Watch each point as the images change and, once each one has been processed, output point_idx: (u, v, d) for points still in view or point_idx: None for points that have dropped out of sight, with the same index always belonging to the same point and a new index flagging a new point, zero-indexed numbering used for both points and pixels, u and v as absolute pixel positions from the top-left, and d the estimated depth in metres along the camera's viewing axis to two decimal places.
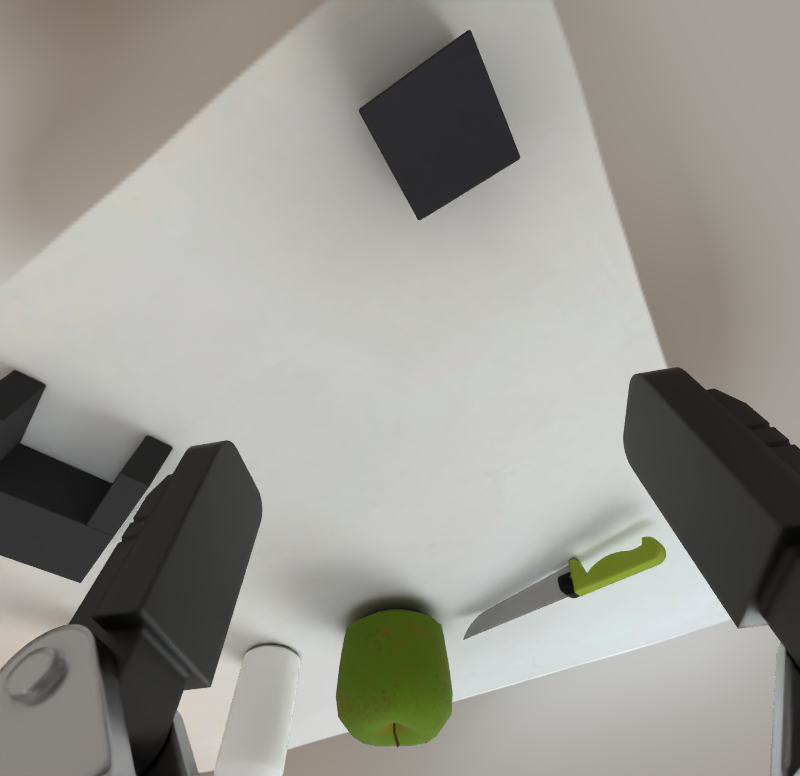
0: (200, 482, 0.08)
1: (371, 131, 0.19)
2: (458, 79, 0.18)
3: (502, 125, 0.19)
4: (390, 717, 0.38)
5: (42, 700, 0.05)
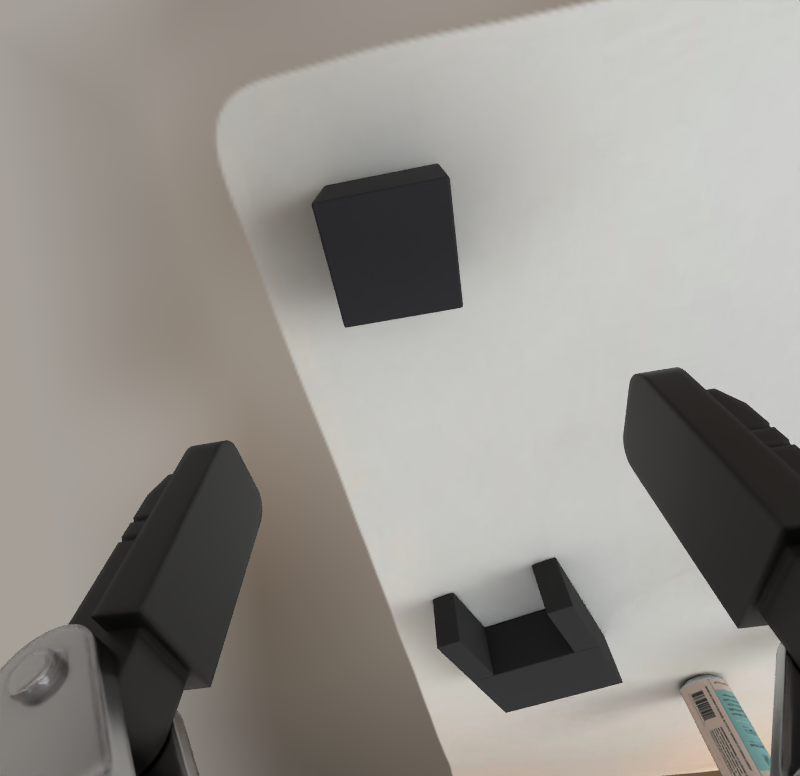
0: (200, 482, 0.08)
1: (365, 323, 0.19)
2: (349, 227, 0.17)
3: (407, 191, 0.16)
4: None
5: (42, 700, 0.05)
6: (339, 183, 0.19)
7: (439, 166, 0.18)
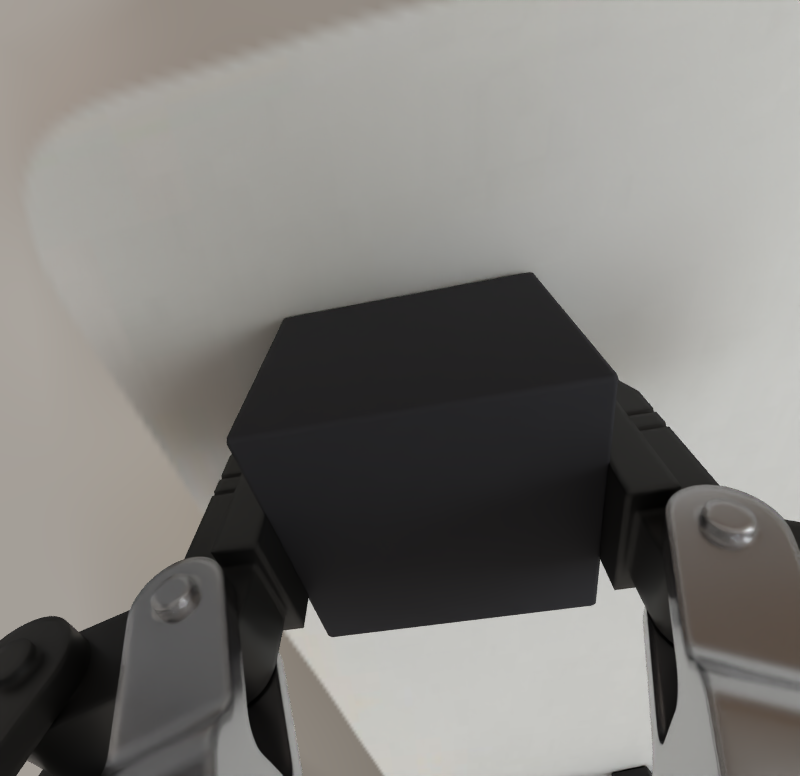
0: None
1: (374, 631, 0.09)
2: (332, 485, 0.06)
3: (494, 411, 0.06)
4: None
5: (187, 616, 0.05)
6: (315, 315, 0.09)
7: (544, 289, 0.08)
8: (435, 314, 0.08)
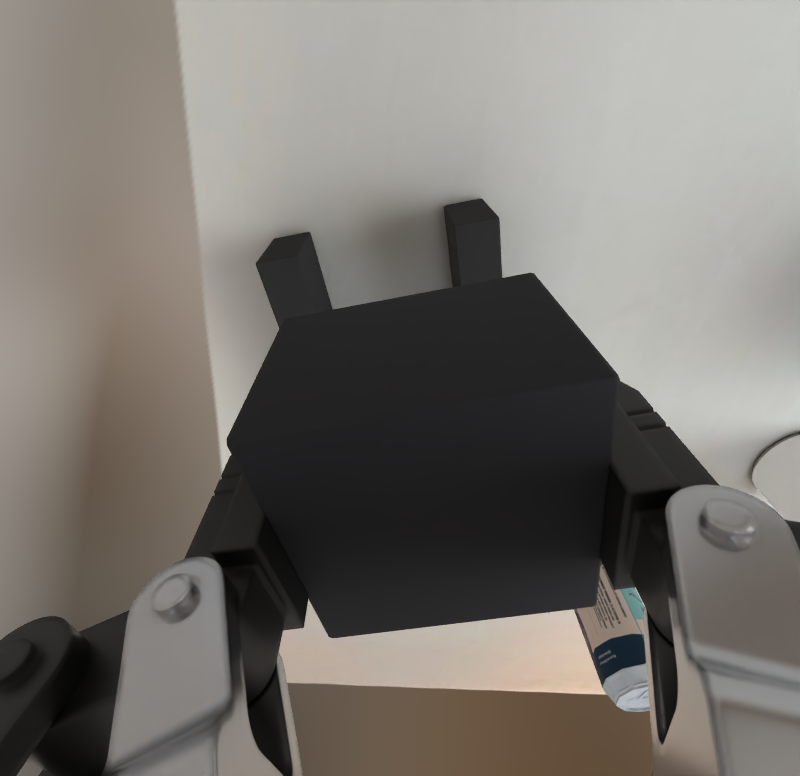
0: None
1: (374, 632, 0.09)
2: (331, 487, 0.06)
3: (495, 413, 0.06)
4: None
5: (188, 617, 0.05)
6: (315, 315, 0.09)
7: (545, 290, 0.08)
8: (436, 315, 0.08)
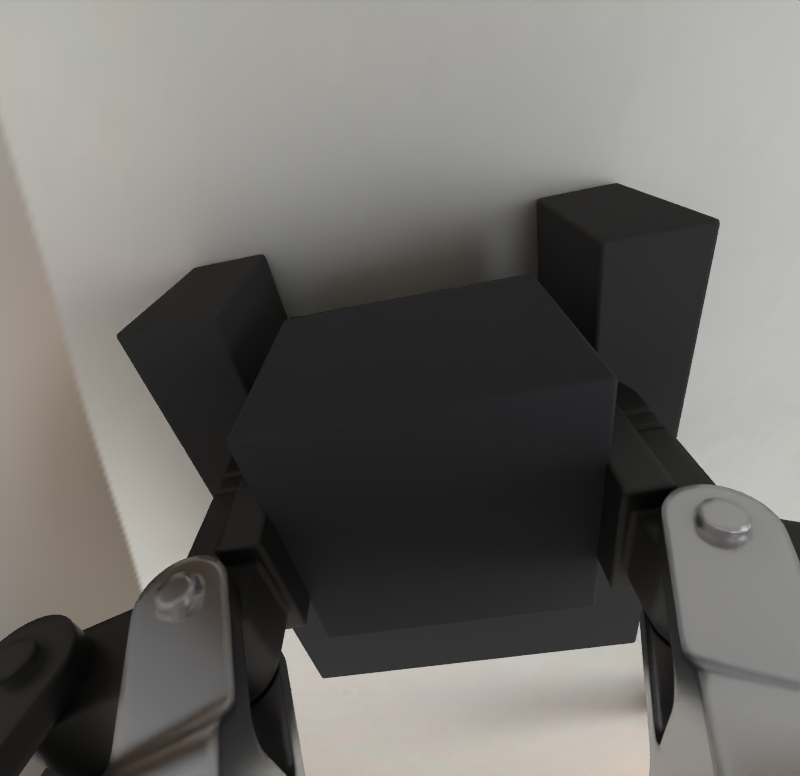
0: None
1: (374, 632, 0.09)
2: (331, 488, 0.06)
3: (494, 413, 0.06)
4: None
5: (191, 615, 0.05)
6: (315, 316, 0.09)
7: (544, 291, 0.08)
8: (435, 316, 0.08)
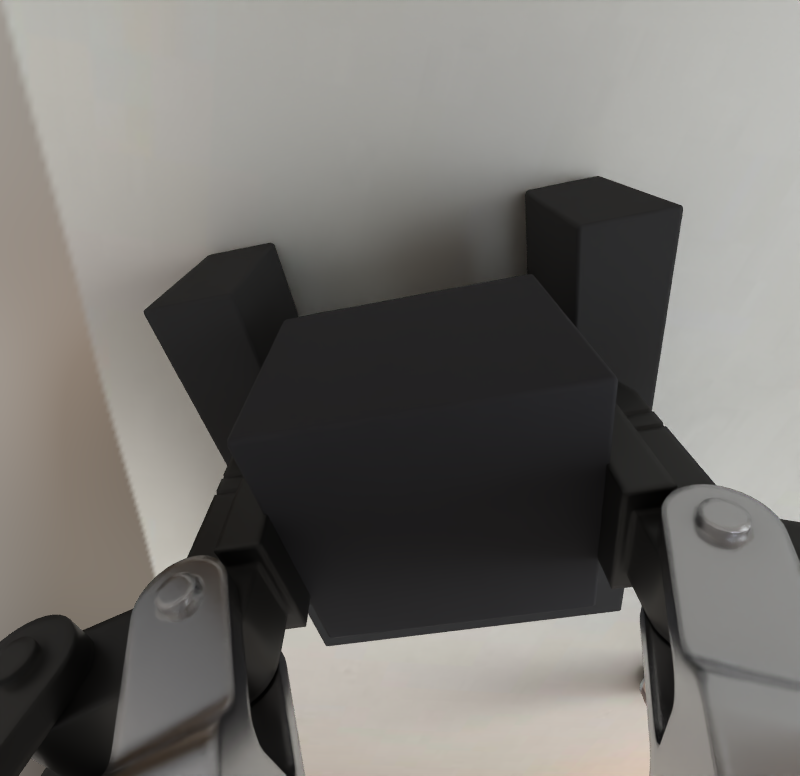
0: None
1: (374, 632, 0.09)
2: (332, 487, 0.06)
3: (494, 414, 0.06)
4: None
5: (191, 615, 0.05)
6: (315, 316, 0.09)
7: (544, 291, 0.08)
8: (435, 316, 0.08)
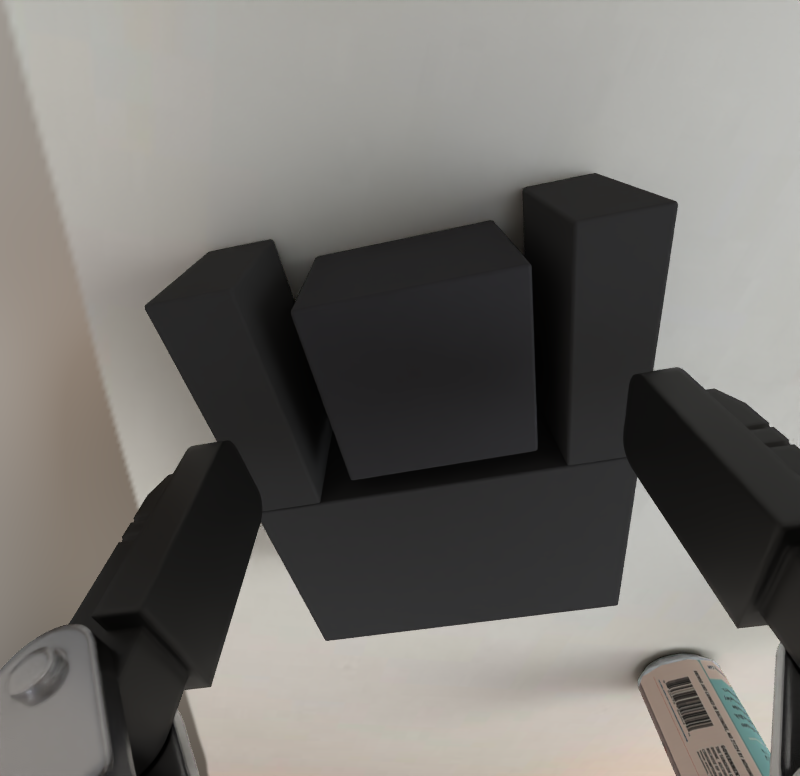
0: (200, 482, 0.08)
1: (383, 474, 0.12)
2: (356, 346, 0.10)
3: (456, 289, 0.09)
4: None
5: (43, 700, 0.05)
6: (338, 253, 0.12)
7: (498, 228, 0.11)
8: (423, 246, 0.11)
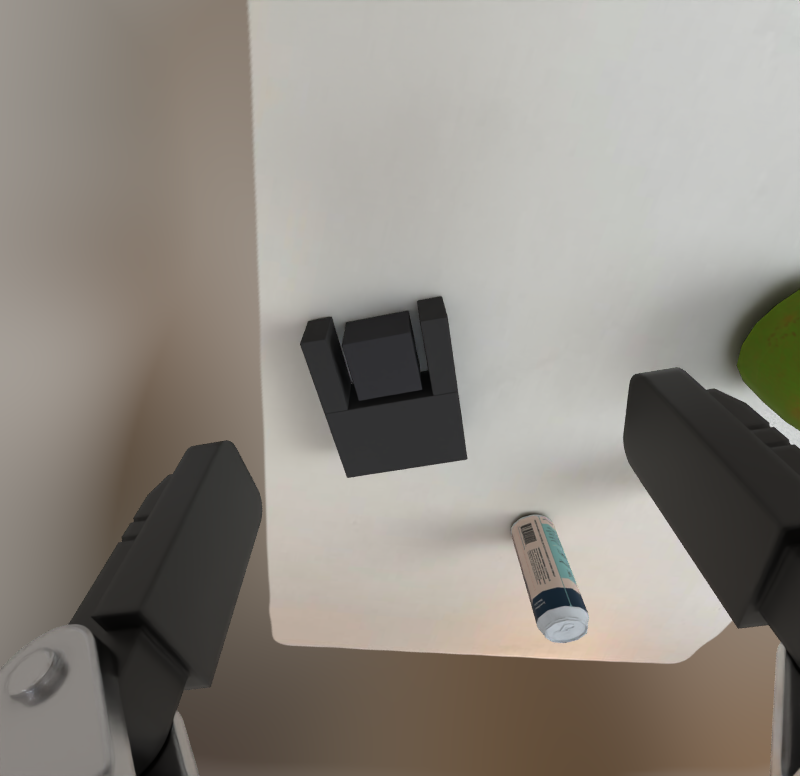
0: (200, 482, 0.08)
1: (370, 398, 0.35)
2: (361, 354, 0.33)
3: (389, 338, 0.32)
4: None
5: (42, 700, 0.05)
6: (354, 321, 0.36)
7: (407, 315, 0.35)
8: (383, 321, 0.35)
